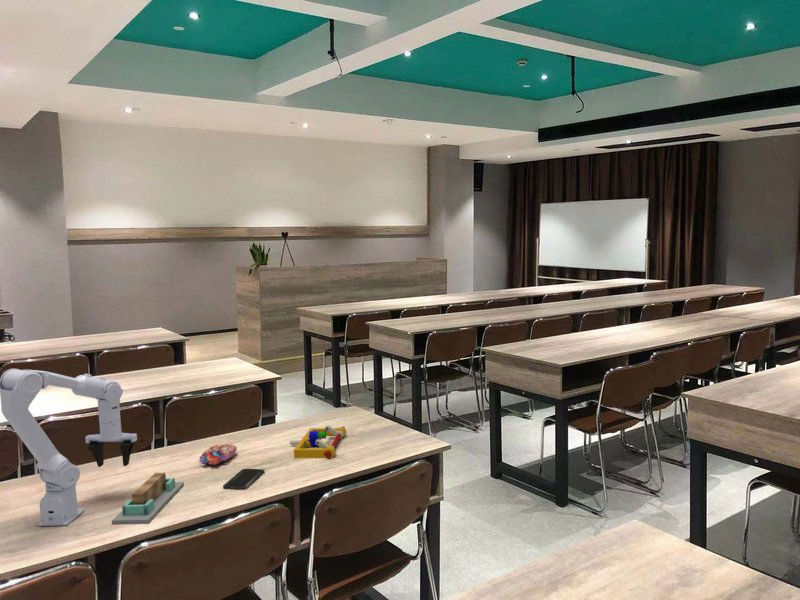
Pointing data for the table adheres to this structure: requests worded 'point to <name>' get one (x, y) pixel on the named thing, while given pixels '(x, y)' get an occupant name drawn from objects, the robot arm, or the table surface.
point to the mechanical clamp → (318, 443)
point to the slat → (150, 489)
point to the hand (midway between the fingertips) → (113, 465)
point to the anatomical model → (218, 454)
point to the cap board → (147, 506)
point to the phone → (243, 479)
